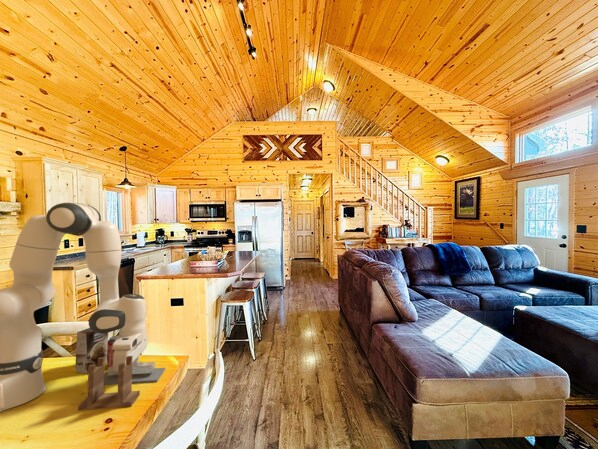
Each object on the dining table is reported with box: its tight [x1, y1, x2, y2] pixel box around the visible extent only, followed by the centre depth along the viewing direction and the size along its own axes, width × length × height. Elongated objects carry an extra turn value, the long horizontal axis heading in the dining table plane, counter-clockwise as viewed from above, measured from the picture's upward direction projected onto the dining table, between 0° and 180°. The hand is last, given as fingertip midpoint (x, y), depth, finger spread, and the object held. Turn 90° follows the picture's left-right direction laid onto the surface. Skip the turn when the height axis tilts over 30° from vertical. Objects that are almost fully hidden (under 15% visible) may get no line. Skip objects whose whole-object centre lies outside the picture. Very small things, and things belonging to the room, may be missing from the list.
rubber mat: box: [104, 367, 166, 386], centre depth 103 cm, size 22×9×1 cm, turn 99°
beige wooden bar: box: [107, 361, 156, 376], centre depth 103 cm, size 16×3×3 cm, turn 98°
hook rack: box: [77, 356, 141, 411], centre depth 89 cm, size 16×6×14 cm, turn 99°
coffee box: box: [74, 327, 109, 374], centre depth 110 cm, size 9×6×16 cm
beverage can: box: [106, 335, 118, 368], centre depth 112 cm, size 6×6×12 cm
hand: (131, 370), depth 103 cm, fingers closed on beige wooden bar, 3 cm apart
